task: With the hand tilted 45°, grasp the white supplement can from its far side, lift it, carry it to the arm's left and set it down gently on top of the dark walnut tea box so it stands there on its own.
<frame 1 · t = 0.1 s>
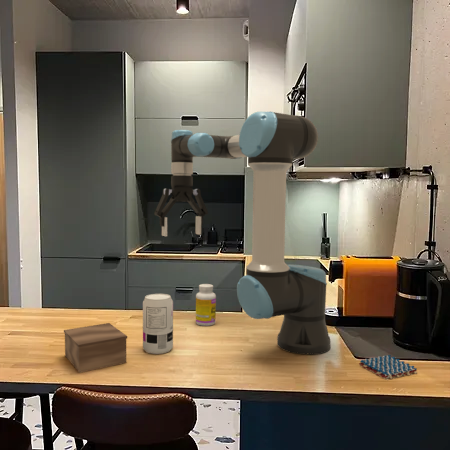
hand: (181, 235, 164), 28 cm above the countertop, tool pointing down, fingers open, 13 cm apart
walnut tea box: (95, 359, 120), on the countertop
supplement can: (157, 350, 128), on the countertop
woven mat: (387, 372, 116), on the countertop
supplement bottle: (205, 324, 153), on the countertop
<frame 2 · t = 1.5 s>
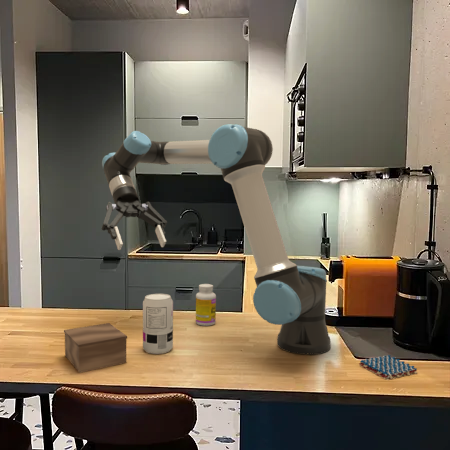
hand: (142, 245, 135), 28 cm above the countertop, tool tilted 45°, fingers open, 13 cm apart
nothing on the countertop moved.
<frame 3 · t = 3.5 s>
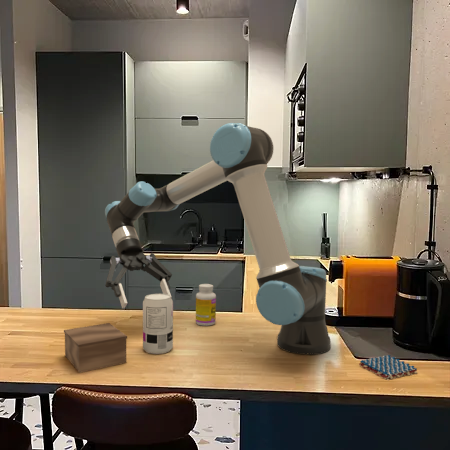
hand: (147, 302, 132), 12 cm above the countertop, tool tilted 45°, fingers open, 13 cm apart
nothing on the countertop moved.
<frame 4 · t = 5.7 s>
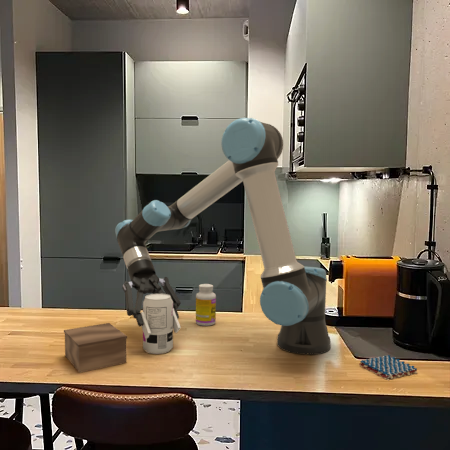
hand: (163, 332, 125), 6 cm above the countertop, tool tilted 45°, fingers closed on supplement can, 8 cm apart
supplement can: (157, 350, 128), on the countertop, touching gripper
everything else where it was.
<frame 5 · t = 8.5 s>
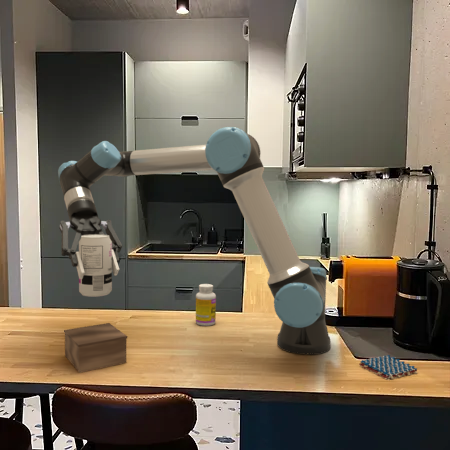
hand: (99, 274, 116), 23 cm above the countertop, tool tilted 45°, fingers closed on supplement can, 8 cm apart
supplement can: (95, 294, 119), point 17 cm above the countertop, touching gripper
everything else where it was.
when the fingers open (13 cm above the countertop, at t = 11.3 s): supplement can stays where it is, resting on walnut tea box.
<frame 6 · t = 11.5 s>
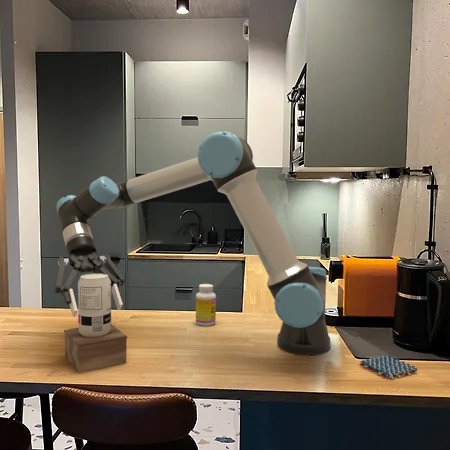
hand: (98, 310, 117), 14 cm above the countertop, tool tilted 45°, fingers open, 11 cm apart
supplement can: (95, 333, 120), point 7 cm above the countertop, touching walnut tea box
everything else where it was.
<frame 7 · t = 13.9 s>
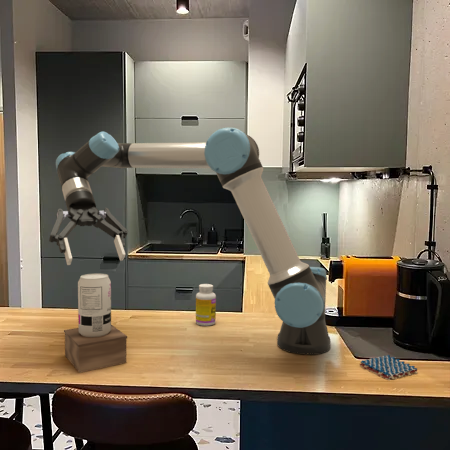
hand: (97, 259, 116), 27 cm above the countertop, tool tilted 45°, fingers open, 13 cm apart
nothing on the countertop moved.
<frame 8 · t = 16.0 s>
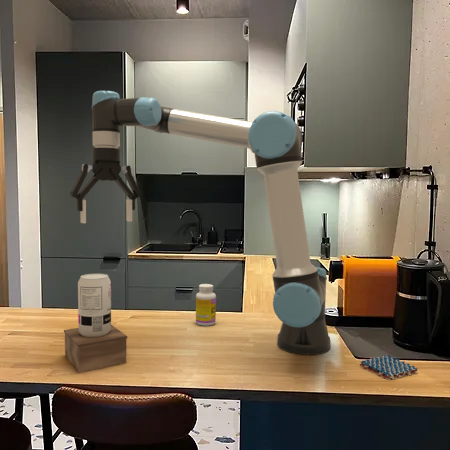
hand: (106, 222, 133), 35 cm above the countertop, tool pointing down, fingers open, 13 cm apart
nothing on the countertop moved.
at the end: supplement can inside the target area on the walnut tea box (0.1 cm from its centre), point 6.8 cm above the walnut tea box's base; supplement can tilted 0°; the gripper is holding nothing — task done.
